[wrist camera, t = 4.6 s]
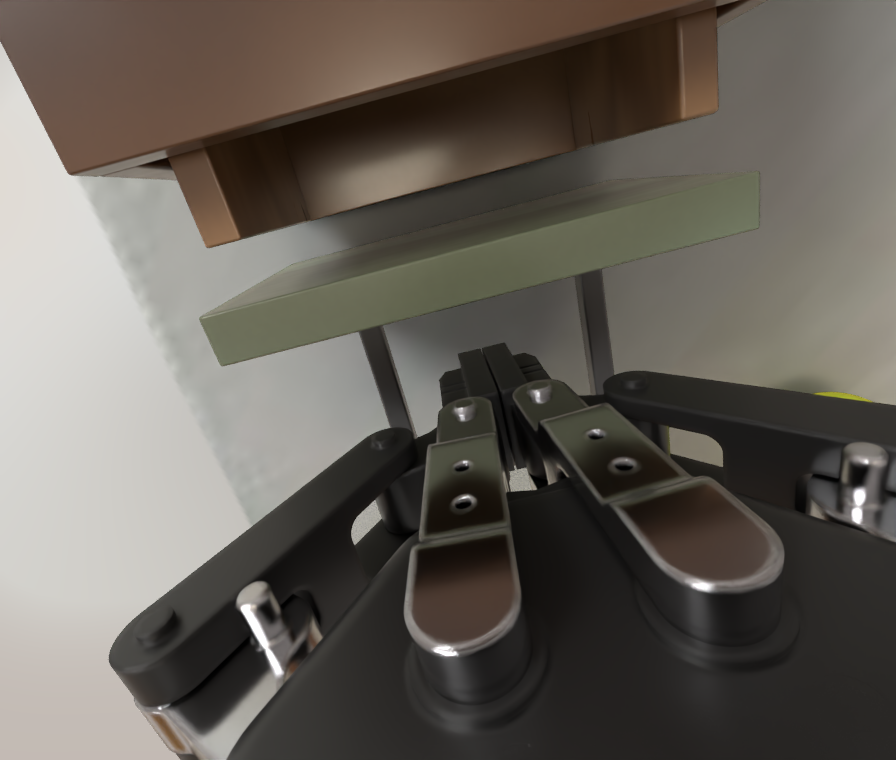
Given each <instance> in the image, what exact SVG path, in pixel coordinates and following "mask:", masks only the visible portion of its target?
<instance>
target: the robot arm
mask: <svg viewBox="0 0 896 760" xmlns="http://www.w3.org/2000/svg"><path fill="white" fill-rule="evenodd" d="M482 352H483V354H482ZM482 352H481V349H476V350H472V351H468V352H464V353H459V354H458V356H459V360H460V365H461V368H460V369H456V370H452V371H448V372H445V373H444V374H443V376H442V377H441V378H440V380H439V381H440V389H441V397H442V405H443V408H442V409H441V410H440V411H439V414H438V425H437V428H435V429H434V430H432V431H431V432H429V433H427V434H425V435H423V436H420V437H418V438H416V439H414V437H413V434H412V432H411V431H410V430H409V429H406V428H401V427H394V428H388V429H384V430H381V431H378V432H376V433H374V434H372V435H370V436H368V437H367V438H365V439H364V440H363V441H361V442H360V443H359V444H357V445H356V446H355V447H354V448H352V449H351V450H350V451H348V452H347V453H346V454H345V455H343V456H342V457H341V458H339V459H338V460H337V461H336V462H334V463H333V464H332V465H330V466H329V467H328V468H327V469H325V470H324V471H323V472H321V473H320V474H319V475H318V476H316V477H315V478H314V479H312V480H311V481H310V482H309V483H307V484H306V485H305V486H303V487H302V488H301V489H300V490H298V491H297V492H296V493H295V494H293V495H292V496H291V497H289V498H288V499H287V500H286V501H284V502H283V503H282V504H280V505H279V506H278V507H277V508H275V509H274V510H273V511H271V512H270V513H269V514H268V515H266V516H265V517H264V518H262V519H261V520H260V521H259V522H257V523H256V524H255V525H253V526H252V527H251V528H250V529H248V530H247V531H246V532H245V533H243V534H242V535H241V536H239V537H238V538H237V539H236V540H234V541H233V542H232V543H230V544H229V545H228V546H227V547H225V548H224V549H223V550H221V551H220V552H219V553H217V554H216V555H215V556H214V557H212V558H211V559H210V560H209V561H207V562H206V563H205V564H203V565H202V566H201V567H199V568H198V569H197V570H196V571H194V572H193V573H192V574H191V575H189V576H188V577H187V578H185V579H184V580H183V581H182V582H180V583H179V584H178V585H176V586H175V587H174V588H173V589H171V590H170V591H169V592H167V593H166V594H165V595H164V596H162V597H161V598H160V599H159V600H157V601H156V602H155V603H153V604H152V605H151V606H149V607H148V608H147V609H146V610H144V611H143V612H142V613H140V614H139V615H138V616H137V617H136V618H134V619H133V620H132V621H131V622H130V623H129V624H128V625H127V626H126V627H125V628H124V629H123V631H122V632H121V633H120V634H119V636H118V637H117V638H116V640H115V642H114V643H113V645H112V648H111V650H110V654H109V663H110V665H111V667H112V668H113V669H114V671H115V672H116V673H117V675H118V676H119V677H120V679H121V680H122V681H123V683H124V684H125V686H126V687H127V688H128V690H129V691H130V692H131V693H132V695H133V696H134V701H135V704H136V706H137V708H138V709H139V710H140V712H141V713H142V714H143V716H144V717H145V718H146V719H147V721H148V722H149V723H150V725H151V726H152V728H153V729H154V730H155V732H156V733H157V734H158V736H159V737H160V738H161V739H162V741H163V742H164V744H165V745H166V746H167V748H168V749H169V750H171V751H172V752H174V753H176V754H177V756H178V757H179V758H180V760H896V405H889V404H882V403H874V402H867V401H860V400H853V399H845V398H838V397H831V396H824V395H816V394H809V393H802V392H794V391H787V390H780V389H773V388H765V387H758V386H751V385H744V384H736V383H729V382H722V381H714V380H707V379H700V378H693V377H685V376H678V375H671V374H664V373H656V372H649V371H629V372H623V373H619V374H616V375H613V376H611V377H609V378H608V379H607V380H605V382H604V383H603V392H604V394H601V395H587V396H579V395H577V394H576V393H575V392H574V391H573V390H572V389H571V388H570V387H569V386H568V385H567V384H565V383H564V382H562V381H559V380H553V379H551V378H550V377H549V375H548V374H547V372H546V371H545V370H544V369H543V367H542V366H541V364H540V363H539V361H538V360H537V359H536V357H535V356H532V355H529V354H526V353H522V354H518V355H513V356H512V354H511V353H510V351H509V349H508V347H507V346H506V344H505V343H500V344H496V345H492V346H488V347H484V348H482ZM669 427H673V428H677V429H682V430H686V431H691V432H695V433H700V434H704V435H707V436H710V437H711V438H713V439H714V440H716V441H717V442H718V443H719V445H720V446H721V448H722V450H723V467H719V466H715V465H712V464H708V463H704V462H700V461H696V460H693V459H689V458H685V457H681V456H677V455H674V454H670V440H669ZM511 454H512V455H511ZM512 457H513V460H514V462H515V465H516V468H517V469H521V468H525V467H527V470H528V475H529V480H530V485H531V488H532V490H530V491H515V492H511V489H510V484H509V481H510V472H509V471H513V470H515V469H514V465H513V460H512ZM374 500H376V503H377V506H378V509H379V511H380V514H381V517H382V519H381V520H380V521H379V522H378V523H377V524H376V525H375V526H374V527H373V528H372V529H371V530H370V531H369V532H368V533H367V534H366V535H365V536H364V537H363V538H362V539H361V540H360V541H359V542H358V543H357V544H356V545H355V546H354V543H353V541H352V538H351V529H352V525H353V523H354V521H355V519H356V517H357V516H358V515H359V514H360V513H361V512H362V511H363V510H364V509H365V508H367V507H368V506H369V505H370V504H371V503H372V502H373V501H374Z"/></svg>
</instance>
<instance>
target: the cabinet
mask: <svg viewBox="0 0 896 760" xmlns="http://www.w3.org/2000/svg"><path fill="white" fill-rule="evenodd" d="M765 1H767V0H0V42H1V44H2V45H3V47H4V49H5V51H6V53H7V55H8V57H9V59H10V61H11V63H12V65H13V67H14V69H15V71H16V73H17V75H18V77H19V79H20V81H21V83H22V85H23V87H24V89H25V91H26V92H27V94H28V96H29V98H30V100H31V102H32V104H33V106H34V108H35V110H36V112H37V114H38V116H39V118H40V120H41V122H42V124H43V126H44V128H45V130H46V132H47V134H48V136H49V138H50V140H51V141H52V143H53V145H54V147H55V149H56V151H57V153H58V155H59V157H60V159H61V161H62V163H63V165H64V167H65V169H66V171H67V173H68V174H69V175H73V176H93V177H98V176H103V177H121V178H142V179H162V180H177V178H176V176H175V173H174V171H173V169H172V167H171V164H170V162H169V160H168V157H171V156H174V155H178V154H182V153H185V152H189V151H192V150H196V149H200V148H203V147H207V146H211V145H214V144H218V143H222V142H225V141H229V140H233V139H236V138H240V137H243V136H247V135H251V134H254V133H258V132H262V131H265V130H269V129H273V128H276V127H280V126H283V125H287V124H291V123H294V122H298V121H302V120H305V119H309V118H313V117H316V116H320V115H323V114H327V113H331V112H334V111H338V110H342V109H345V108H349V107H353V106H356V105H360V104H363V103H367V102H371V101H374V100H378V99H382V98H385V97H389V96H393V95H396V94H400V93H403V92H407V91H411V90H414V89H418V88H422V87H425V86H429V85H433V84H436V83H440V82H444V81H447V80H451V79H454V78H458V77H462V76H465V75H469V74H473V73H476V72H480V71H484V70H487V69H491V68H494V67H498V66H502V65H505V64H509V63H513V62H516V61H520V60H524V59H527V58H531V57H534V56H538V55H542V54H545V53H549V52H553V51H556V50H560V49H564V48H567V47H571V46H574V45H578V44H582V43H585V42H589V41H593V40H596V39H600V38H604V37H607V36H611V35H615V34H618V33H622V32H625V31H629V30H633V29H636V28H640V27H644V26H647V25H651V24H655V23H658V22H662V21H665V20H669V19H673V18H676V17H680V16H684V15H687V14H691V13H695V12H698V11H702V10H705V9H709V8H713V7H716V9H717V28H718V27H720V26H722V25H723V24H725V23H727V22H729V21H731V20H733V19H734V18H736V17H738V16H740V15H742V14H744V13H745V12H747V11H749V10H751V9H753V8H755V7H756V6H758V5H760V4H762V3H764V2H765Z"/></svg>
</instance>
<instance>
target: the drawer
mask: <svg viewBox="0 0 896 760" xmlns="http://www.w3.org/2000/svg"><path fill="white" fill-rule="evenodd" d="M718 107H719V99H718V54H717V9H716V7H713V8H709V9H705V10H702V11H698V12H695V13H691V14H687V15H684V16H680V17H676V18H673V19H669V20H665V21H662V22H658V23H655V24H651V25H647V26H644V27H640V28H636V29H633V30H629V31H625V32H622V33H618V34H615V35H611V36H607V37H604V38H600V39H596V40H593V41H589V42H585V43H582V44H578V45H574V46H571V47H567V48H564V49H560V50H556V51H553V52H549V53H545V54H542V55H538V56H534V57H531V58H527V59H524V60H520V61H516V62H513V63H509V64H505V65H502V66H498V67H494V68H491V69H487V70H484V71H480V72H476V73H473V74H469V75H465V76H462V77H458V78H454V79H451V80H447V81H444V82H440V83H436V84H433V85H429V86H425V87H422V88H418V89H414V90H411V91H407V92H403V93H400V94H396V95H393V96H389V97H385V98H382V99H378V100H374V101H371V102H367V103H363V104H360V105H356V106H353V107H349V108H345V109H342V110H338V111H334V112H331V113H327V114H323V115H320V116H316V117H313V118H309V119H305V120H302V121H298V122H294V123H291V124H287V125H283V126H280V127H276V128H273V129H269V130H265V131H262V132H258V133H254V134H251V135H247V136H243V137H240V138H236V139H233V140H229V141H225V142H222V143H218V144H214V145H211V146H207V147H203V148H200V149H196V150H192V151H189V152H185V153H182V154H178V155H174V156H171V157H168V160H169V162H170V164H171V167H172V169H173V171H174V173H175V176H176V178H177V180H178V183H179V185H180V187H181V190H182V192H183V194H184V197H185V199H186V201H187V204H188V206H189V208H190V211H191V213H192V215H193V218H194V220H195V222H196V225H197V227H198V229H199V232H200V234H201V236H202V239H203V241H204V243H205V246H206V247H207V248H212V247H216V246H219V245H223V244H227V243H231V242H234V241H238V240H242V239H246V238H249V237H253V236H257V235H260V234H264V233H268V232H271V231H275V230H279V229H283V228H286V227H290V226H294V225H297V224H301V223H305V222H309V221H312V220H316V219H320V218H323V217H327V216H331V215H335V214H338V213H342V212H346V211H350V210H353V209H357V208H361V207H365V206H368V205H372V204H376V203H380V202H383V201H387V200H391V199H395V198H398V197H402V196H406V195H410V194H413V193H417V192H421V191H425V190H428V189H432V188H436V187H440V186H443V185H447V184H451V183H455V182H458V181H462V180H466V179H470V178H473V177H477V176H481V175H485V174H488V173H492V172H496V171H500V170H503V169H507V168H511V167H515V166H518V165H522V164H526V163H530V162H533V161H537V160H541V159H545V158H548V157H552V156H556V155H560V154H563V153H567V152H571V151H574V150H578V149H582V148H586V147H590V146H593V145H597V144H601V143H605V142H608V141H612V140H616V139H620V138H624V137H627V136H631V135H635V134H639V133H642V132H646V131H650V130H654V129H658V128H661V127H665V126H669V125H673V124H676V123H680V122H684V121H688V120H691V119H695V118H699V117H703V116H706V115H710V114H714V113H715V112H716V111H717V110H718ZM759 226H760V172H759V171H750V172H734V173H718V174H702V175H685V176H669V177H653V178H637V179H621V180H608V181H605V182H601V183H597V184H593V185H589V186H586V187H582V188H578V189H574V190H570V191H567V192H563V193H559V194H555V195H552V196H548V197H544V198H540V199H536V200H533V201H529V202H525V203H521V204H517V205H514V206H510V207H506V208H502V209H498V210H495V211H491V212H487V213H483V214H480V215H476V216H472V217H468V218H464V219H461V220H457V221H453V222H449V223H445V224H442V225H438V226H434V227H430V228H427V229H423V230H419V231H415V232H411V233H408V234H404V235H400V236H396V237H392V238H389V239H385V240H381V241H377V242H373V243H370V244H366V245H362V246H358V247H355V248H351V249H347V250H343V251H339V252H336V253H332V254H328V255H324V256H320V257H317V258H313V259H309V260H305V261H302V262H298V263H294V264H292V265H290V266H288V267H286V268H285V269H283V270H281V271H279V272H278V273H276V274H274V275H272V276H271V277H269V278H267V279H265V280H264V281H262V282H260V283H258V284H257V285H255V286H253V287H251V288H250V289H248V290H246V291H245V292H243V293H241V294H239V295H238V296H236V297H234V298H232V299H231V300H229V301H227V302H225V303H224V304H222V305H220V306H218V307H217V308H215V309H213V310H211V311H210V312H208V313H206V314H205V315H203V316H201V317H200V318H199V320H200V322H201V324H202V327H203V329H204V331H205V333H206V335H207V337H208V340H209V342H210V344H211V346H212V348H213V350H214V353H215V355H216V357H217V359H218V361H219V363H220V365H221V366H227V365H230V364H234V363H238V362H242V361H246V360H250V359H254V358H258V357H262V356H265V355H269V354H273V353H277V352H281V351H285V350H289V349H293V348H297V347H300V346H304V345H308V344H312V343H316V342H320V341H324V340H328V339H331V338H335V337H339V336H343V335H347V334H351V333H355V332H359V334H360V337H361V340H362V343H363V346H364V349H365V352H366V355H367V358H368V361H369V364H370V367H371V370H372V373H373V376H374V379H375V382H376V385H377V388H378V391H379V394H380V397H381V400H382V403H383V406H384V409H385V412H386V415H387V418H388V421H389V424H390V427H391V428H394V427H401V428H406V429H409V430H410V431H411V432H412V434H413V437H414V439H416V438H417V434H416V431H415V428H414V425H413V421H412V418H411V415H410V412H409V409H408V405H407V402H406V399H405V396H404V392H403V389H402V386H401V383H400V379H399V376H398V373H397V370H396V367H395V363H394V360H393V357H392V354H391V350H390V347H389V344H388V341H387V337H386V334H385V331H384V328H383V325H386V324H390V323H394V322H398V321H401V320H405V319H409V318H413V317H417V316H421V315H425V314H429V313H432V312H436V311H440V310H444V309H448V308H452V307H456V306H460V305H464V304H467V303H471V302H475V301H479V300H483V299H487V298H491V297H495V296H499V295H502V294H506V293H510V292H514V291H518V290H522V289H526V288H530V287H533V286H537V285H541V284H545V283H549V282H553V281H557V280H561V279H565V278H568V277H572V276H574V278H575V285H576V292H577V299H578V306H579V313H580V320H581V327H582V334H583V341H584V348H585V355H586V362H587V369H588V376H589V383H590V390H591V395H601V394H604V392H603V383H604V382H605V380H607V379H608V378H609V377H611V376H613V375H614V369H613V361H612V352H611V344H610V336H609V327H608V319H607V311H606V302H605V294H604V285H603V277H602V269H603V268H607V267H611V266H615V265H619V264H623V263H627V262H631V261H634V260H638V259H642V258H646V257H650V256H654V255H658V254H662V253H666V252H669V251H673V250H677V249H681V248H685V247H689V246H693V245H697V244H700V243H704V242H708V241H712V240H716V239H720V238H724V237H728V236H732V235H735V234H739V233H743V232H747V231H751V230H755V229H758V228H759ZM511 455H512V454H511ZM512 460H513V457H512ZM513 465H515V462H514V460H513Z"/></svg>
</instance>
